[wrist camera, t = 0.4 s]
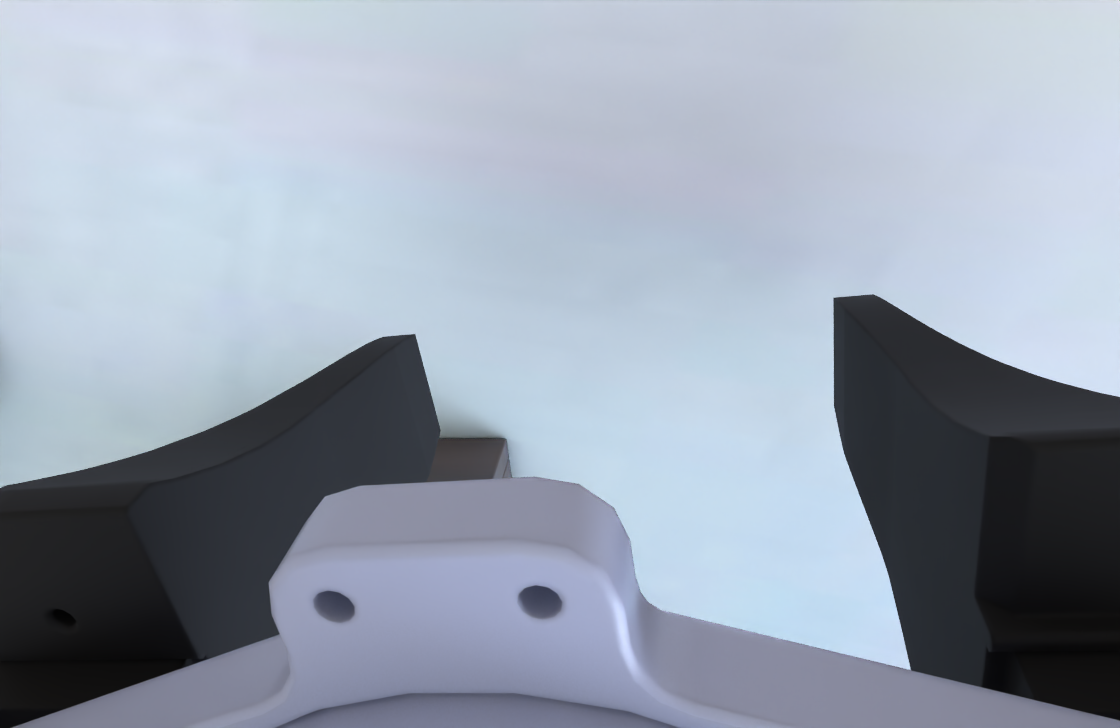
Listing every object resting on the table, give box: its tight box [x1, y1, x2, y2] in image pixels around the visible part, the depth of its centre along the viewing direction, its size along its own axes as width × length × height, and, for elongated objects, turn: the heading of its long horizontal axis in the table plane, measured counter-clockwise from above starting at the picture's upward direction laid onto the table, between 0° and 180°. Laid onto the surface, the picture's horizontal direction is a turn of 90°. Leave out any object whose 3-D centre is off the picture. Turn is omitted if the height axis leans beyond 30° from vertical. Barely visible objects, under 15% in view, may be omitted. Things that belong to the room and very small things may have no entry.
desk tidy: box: [427, 439, 512, 482], centre depth 30 cm, size 13×11×3 cm
